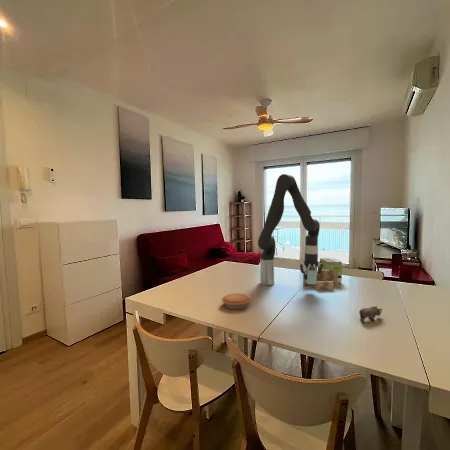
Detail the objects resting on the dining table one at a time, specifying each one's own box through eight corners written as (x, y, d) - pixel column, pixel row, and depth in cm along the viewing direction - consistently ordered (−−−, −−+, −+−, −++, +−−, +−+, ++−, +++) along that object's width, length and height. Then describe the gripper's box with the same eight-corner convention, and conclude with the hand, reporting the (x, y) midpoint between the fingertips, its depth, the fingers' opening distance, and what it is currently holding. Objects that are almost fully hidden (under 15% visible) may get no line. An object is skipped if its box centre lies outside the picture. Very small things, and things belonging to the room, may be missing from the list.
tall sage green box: (307, 284, 150) (308, 266, 149) (304, 280, 156) (305, 264, 155) (316, 284, 150) (316, 266, 149) (312, 280, 156) (313, 264, 155)
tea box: (342, 283, 170) (342, 261, 169) (327, 283, 170) (327, 261, 169) (333, 277, 185) (333, 257, 184) (319, 277, 185) (319, 257, 184)
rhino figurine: (386, 318, 115) (386, 305, 114) (364, 324, 110) (364, 311, 109) (378, 315, 118) (378, 302, 118) (356, 320, 114) (356, 307, 113)
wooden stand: (307, 290, 157) (307, 274, 157) (303, 285, 167) (303, 270, 167) (343, 289, 156) (343, 273, 156) (336, 284, 167) (336, 269, 166)
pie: (230, 313, 125) (230, 303, 125) (217, 303, 139) (216, 294, 138) (256, 307, 132) (256, 298, 132) (241, 298, 146) (241, 290, 145)
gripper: (300, 253, 148) (300, 281, 149) (325, 253, 147) (324, 282, 149) (297, 251, 155) (297, 278, 157) (321, 251, 155) (320, 278, 156)
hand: (310, 279), depth 153 cm, fingers closed on tall sage green box, 5 cm apart
